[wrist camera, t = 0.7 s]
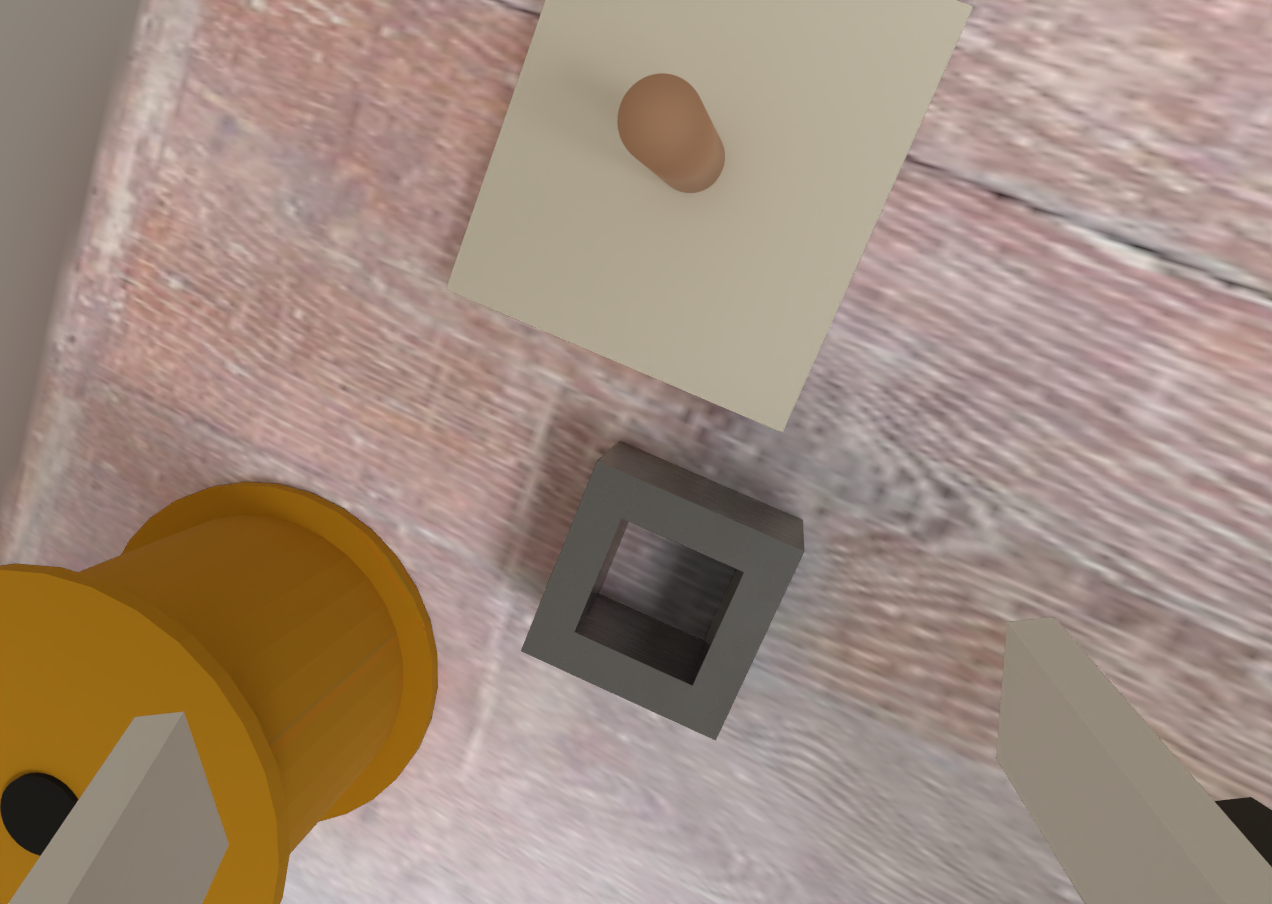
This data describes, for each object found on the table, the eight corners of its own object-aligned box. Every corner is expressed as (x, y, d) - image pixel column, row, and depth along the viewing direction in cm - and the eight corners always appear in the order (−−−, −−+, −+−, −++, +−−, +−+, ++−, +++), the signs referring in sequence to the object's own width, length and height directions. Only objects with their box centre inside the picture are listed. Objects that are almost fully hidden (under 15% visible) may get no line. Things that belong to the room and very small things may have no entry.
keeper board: (965, 17, 37) (1031, -85, 27) (782, 427, 41) (779, 474, 31) (600, -121, 38) (530, -269, 28) (457, 289, 42) (351, 290, 32)
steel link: (802, 520, 42) (804, 551, 37) (724, 689, 44) (715, 740, 39) (619, 440, 42) (597, 460, 37) (550, 610, 44) (520, 651, 39)
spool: (386, 866, 48) (211, 1116, 34) (84, 739, 50) (-206, 924, 36) (481, 556, 45) (330, 688, 30) (150, 430, 46) (-145, 496, 32)
